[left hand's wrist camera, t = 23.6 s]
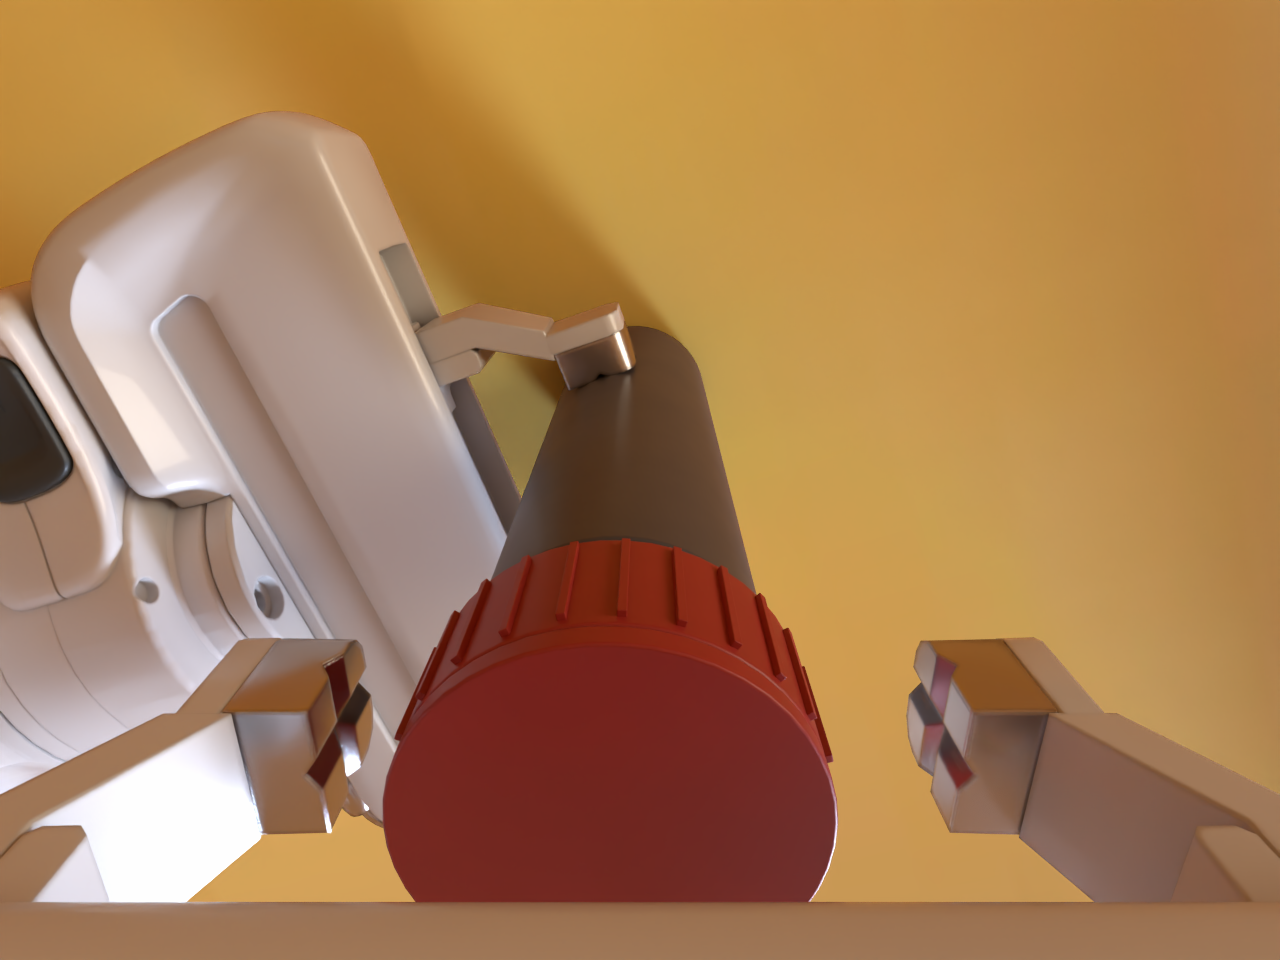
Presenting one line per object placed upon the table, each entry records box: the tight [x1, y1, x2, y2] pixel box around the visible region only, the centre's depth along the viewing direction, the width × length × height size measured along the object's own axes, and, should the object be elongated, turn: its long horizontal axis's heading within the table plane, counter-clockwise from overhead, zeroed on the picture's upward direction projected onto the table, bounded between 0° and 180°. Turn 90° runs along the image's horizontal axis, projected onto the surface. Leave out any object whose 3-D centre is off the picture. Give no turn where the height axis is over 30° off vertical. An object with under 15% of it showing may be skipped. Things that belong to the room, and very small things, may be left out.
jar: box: [491, 326, 756, 594], centre depth 17 cm, size 4×4×17 cm
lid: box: [383, 538, 838, 902], centre depth 10 cm, size 5×5×2 cm
